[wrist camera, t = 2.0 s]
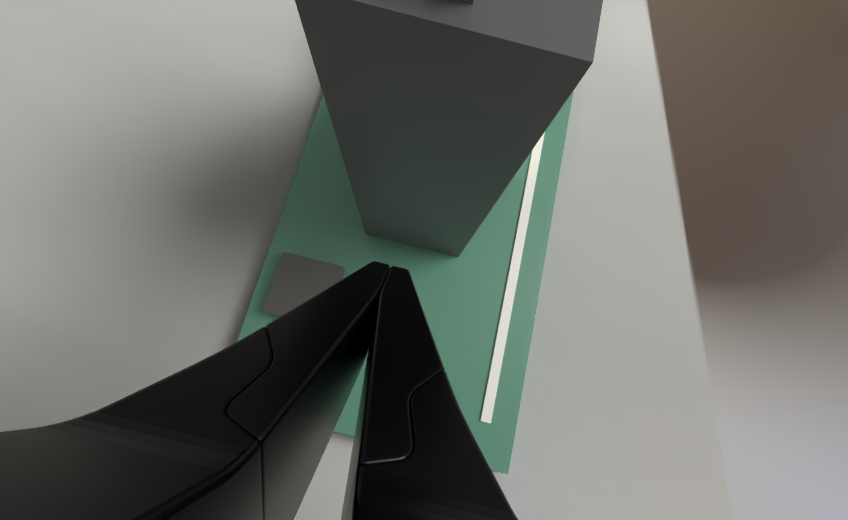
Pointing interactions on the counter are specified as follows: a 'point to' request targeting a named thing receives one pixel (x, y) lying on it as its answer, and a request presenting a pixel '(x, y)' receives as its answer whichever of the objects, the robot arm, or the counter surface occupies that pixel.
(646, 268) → the counter surface
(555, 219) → the counter surface
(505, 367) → the board
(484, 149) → the grey tall block
